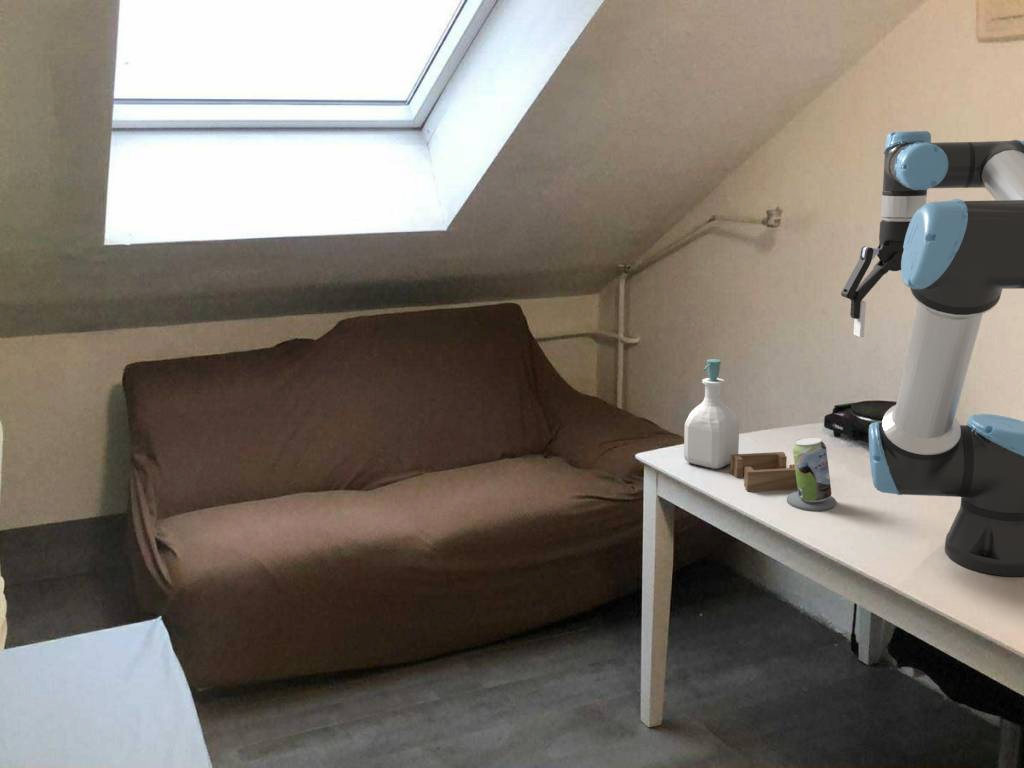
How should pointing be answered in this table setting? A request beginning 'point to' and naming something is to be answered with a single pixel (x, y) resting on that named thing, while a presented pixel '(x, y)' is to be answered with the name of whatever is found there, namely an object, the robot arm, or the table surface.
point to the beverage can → (812, 469)
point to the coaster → (810, 503)
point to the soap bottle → (711, 426)
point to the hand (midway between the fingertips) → (893, 334)
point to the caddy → (764, 471)
